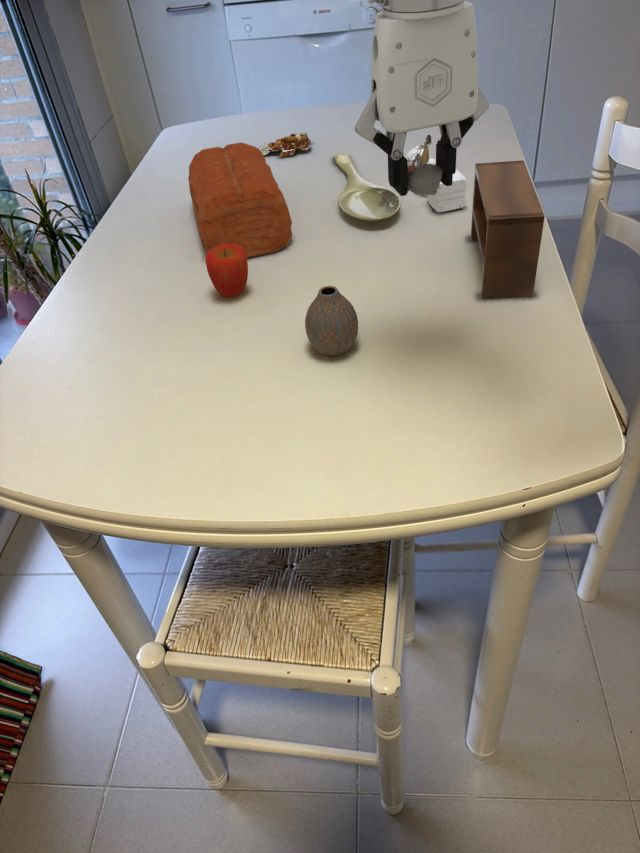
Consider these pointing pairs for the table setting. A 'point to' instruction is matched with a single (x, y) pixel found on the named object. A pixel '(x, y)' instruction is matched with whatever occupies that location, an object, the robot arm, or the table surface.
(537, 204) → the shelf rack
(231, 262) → the apple
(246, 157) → the bread
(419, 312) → the table surface
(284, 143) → the pastry
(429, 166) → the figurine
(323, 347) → the vase
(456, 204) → the container set
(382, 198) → the spoon
